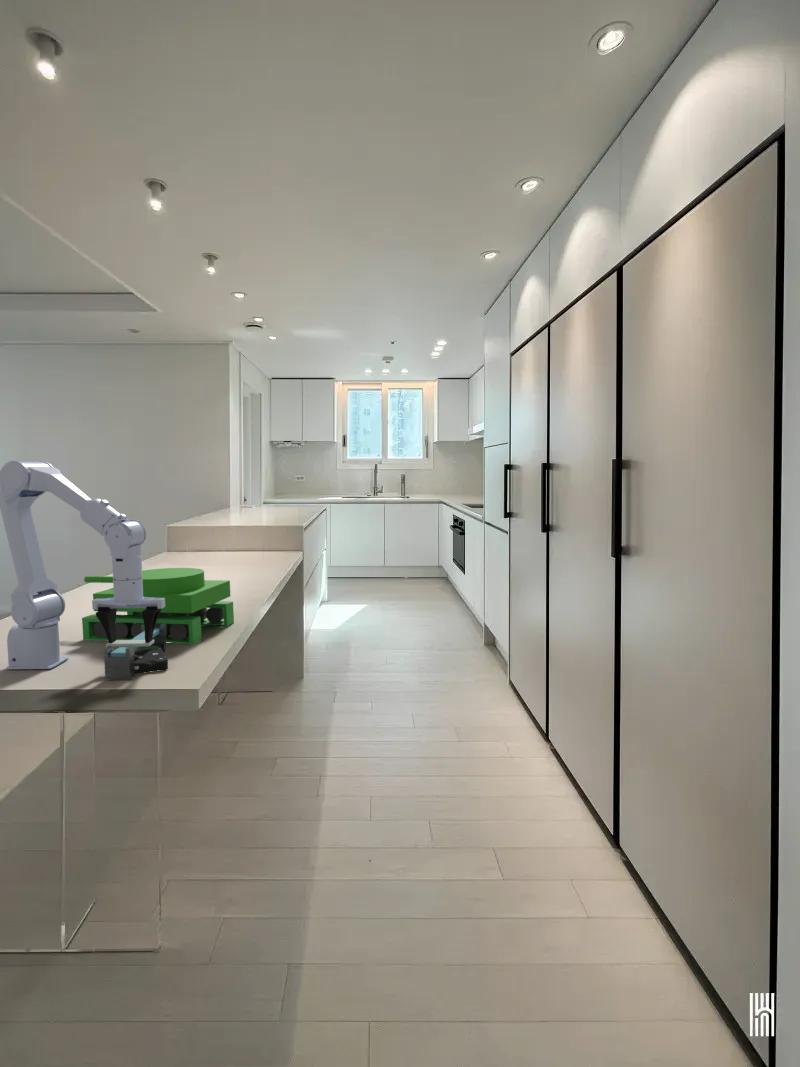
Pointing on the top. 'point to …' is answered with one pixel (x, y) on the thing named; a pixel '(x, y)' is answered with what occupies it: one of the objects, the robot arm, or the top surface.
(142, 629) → the hinge bracket
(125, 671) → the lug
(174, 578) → the tank
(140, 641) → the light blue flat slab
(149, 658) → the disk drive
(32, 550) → the robot arm
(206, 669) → the top surface
